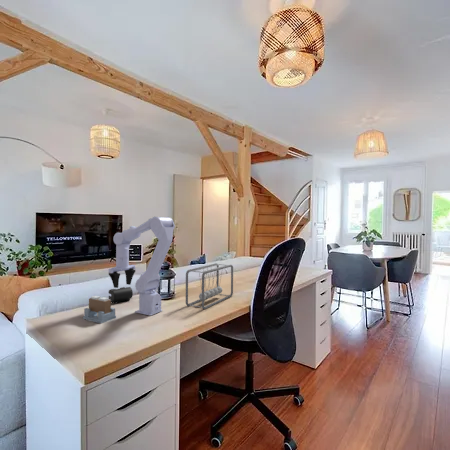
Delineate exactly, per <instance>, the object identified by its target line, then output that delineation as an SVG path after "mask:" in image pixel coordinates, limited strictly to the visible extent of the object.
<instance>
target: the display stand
mask: <svg viewBox="0 0 450 450" xmlns="http://www.w3.org/2000/svg"><path fill="white" fill-rule="evenodd" d="M83 310H84V315H83V316H82V320H85V319H86V320H85V321H88V322H89V321H90V322H94V323H97V324H103V323H106V322H109V321H112V320H114V319H117V315H116V308H115V307H111V312H110V313H107V314H104V312H102V311H99V312H94V311H90V309H89V307H85V308H84V309H83Z"/></svg>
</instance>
